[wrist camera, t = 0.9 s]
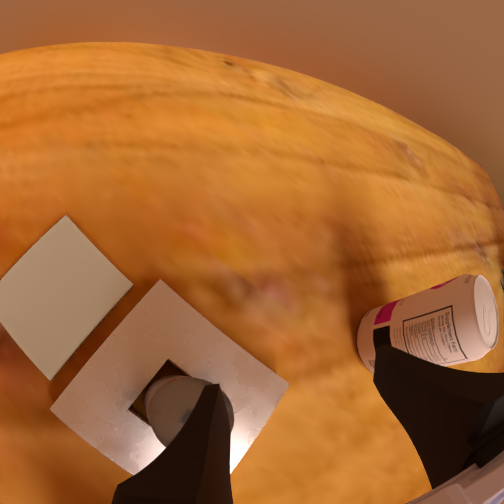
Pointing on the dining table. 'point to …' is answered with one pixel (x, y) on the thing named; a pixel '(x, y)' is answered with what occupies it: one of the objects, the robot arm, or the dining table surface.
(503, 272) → the rose bouquet
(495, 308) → the supplement can
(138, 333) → the housing plate
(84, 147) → the dining table surface
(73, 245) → the pad
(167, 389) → the grey metal cylinder
